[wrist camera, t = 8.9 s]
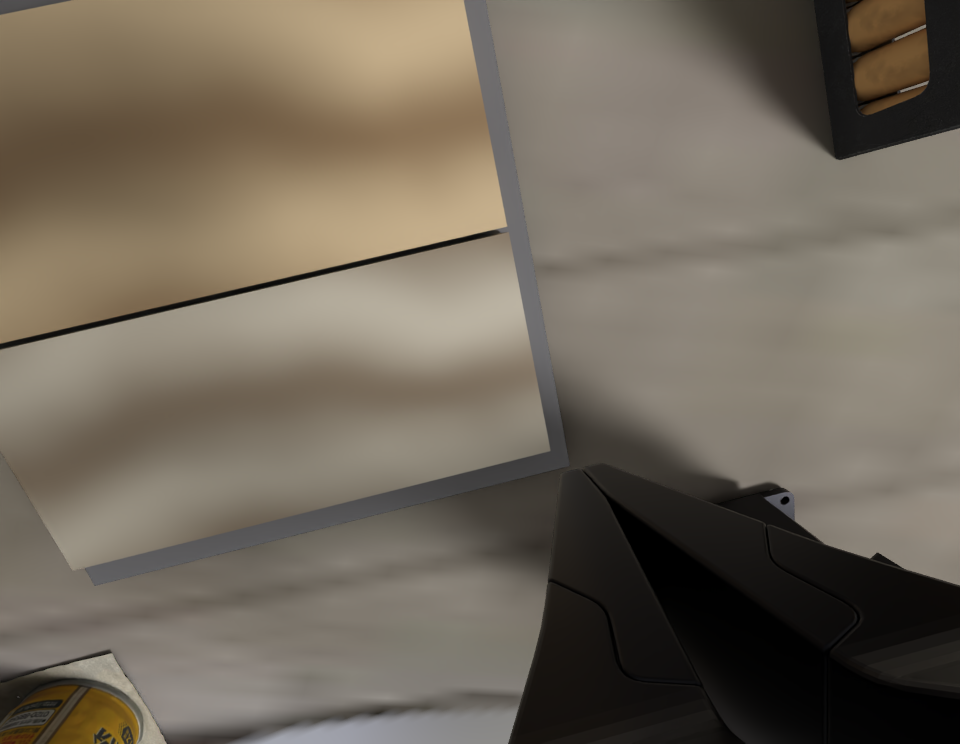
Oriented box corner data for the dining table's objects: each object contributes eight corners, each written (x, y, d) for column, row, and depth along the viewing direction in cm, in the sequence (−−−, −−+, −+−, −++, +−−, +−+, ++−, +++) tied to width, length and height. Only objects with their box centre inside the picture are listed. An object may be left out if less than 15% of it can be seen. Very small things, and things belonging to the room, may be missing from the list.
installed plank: (501, 227, 18) (507, 226, 16) (-14, 346, 17) (-54, 356, 16) (447, -47, 15) (448, -77, 14) (-162, 79, 14) (-228, 61, 13)
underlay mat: (563, 456, 22) (570, 466, 21) (110, 570, 21) (94, 585, 20) (454, -141, 15) (455, -167, 14) (-213, -8, 15) (-259, -26, 14)
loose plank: (542, 436, 20) (550, 450, 19) (98, 546, 20) (72, 570, 18) (502, 232, 18) (508, 232, 16) (-13, 351, 17) (-54, 362, 16)
